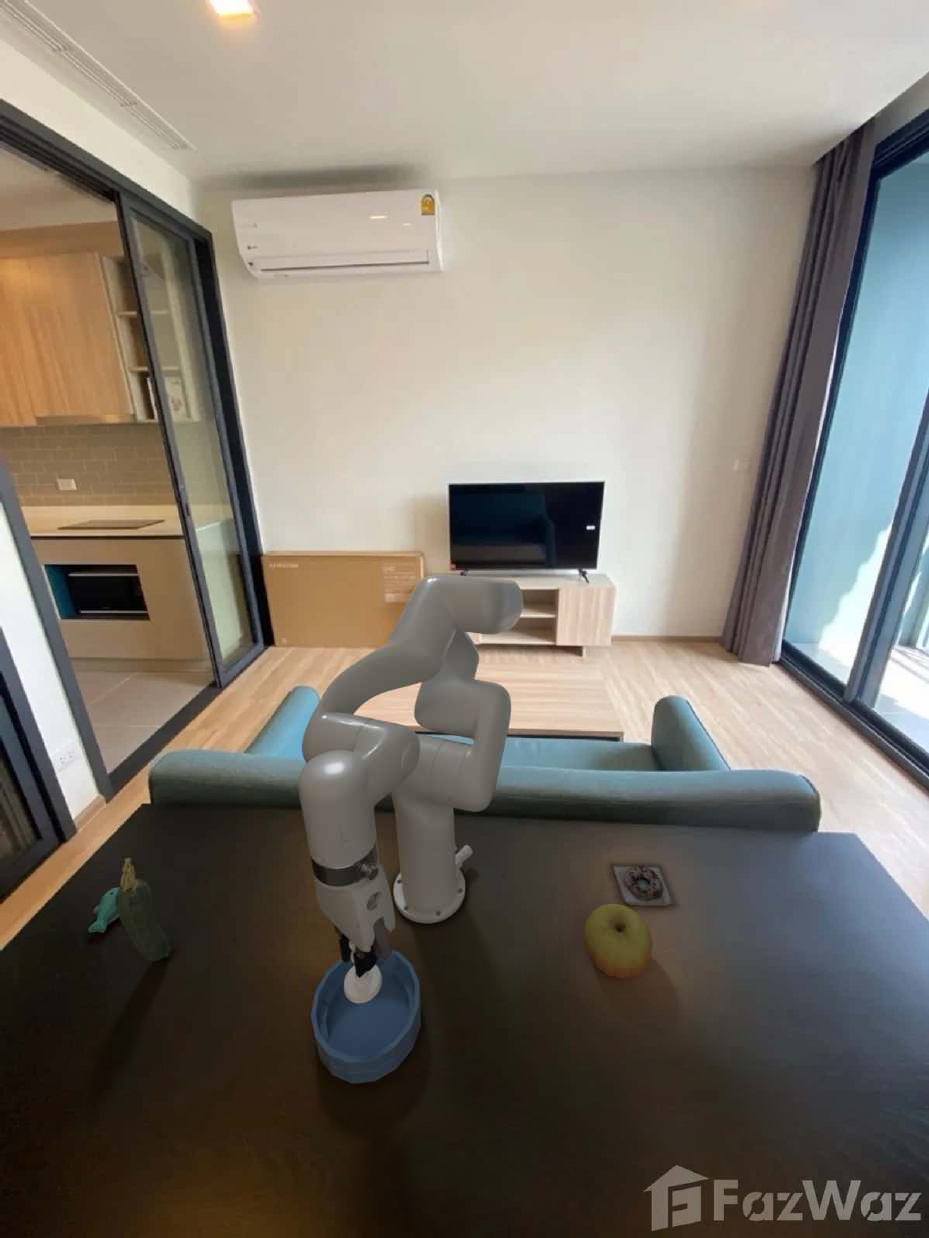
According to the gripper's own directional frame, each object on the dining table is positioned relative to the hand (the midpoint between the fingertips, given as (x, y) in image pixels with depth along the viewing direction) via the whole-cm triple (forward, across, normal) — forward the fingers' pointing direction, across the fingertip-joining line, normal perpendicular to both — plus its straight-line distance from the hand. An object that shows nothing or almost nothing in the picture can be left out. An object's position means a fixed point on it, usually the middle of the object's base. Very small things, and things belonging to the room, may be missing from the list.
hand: (360, 959), depth 64 cm
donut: (+13, -20, -45) cm, 51 cm away
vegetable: (+13, +32, +16) cm, 38 cm away
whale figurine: (+13, +46, +18) cm, 51 cm away
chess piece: (+5, 0, 0) cm, 5 cm away
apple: (+13, -22, -30) cm, 39 cm away
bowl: (+13, 0, 0) cm, 13 cm away
